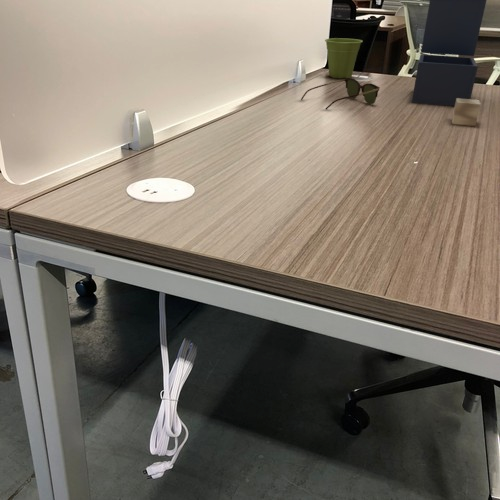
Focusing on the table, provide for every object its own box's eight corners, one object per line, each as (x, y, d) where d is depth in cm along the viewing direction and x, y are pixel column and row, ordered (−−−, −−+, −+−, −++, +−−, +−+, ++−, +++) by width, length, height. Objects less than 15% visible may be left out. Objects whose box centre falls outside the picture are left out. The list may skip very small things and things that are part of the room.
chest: (468, 107, 128) (478, 66, 123) (411, 102, 132) (418, 62, 127) (465, 95, 143) (473, 57, 138) (414, 90, 147) (420, 54, 142)
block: (474, 121, 115) (479, 99, 112) (475, 126, 111) (480, 104, 108) (451, 119, 116) (456, 98, 114) (452, 124, 112) (457, 102, 110)
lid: (491, -22, 128) (489, -23, 133) (433, -24, 132) (434, -25, 137) (473, 56, 138) (472, 52, 143) (420, 52, 142) (421, 49, 146)
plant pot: (321, 73, 171) (324, 37, 165) (356, 75, 170) (360, 38, 164) (322, 79, 160) (325, 41, 155) (359, 81, 159) (364, 42, 154)
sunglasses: (378, 106, 126) (380, 86, 124) (328, 116, 121) (329, 94, 118) (344, 95, 138) (345, 76, 135) (297, 103, 132) (297, 84, 130)
